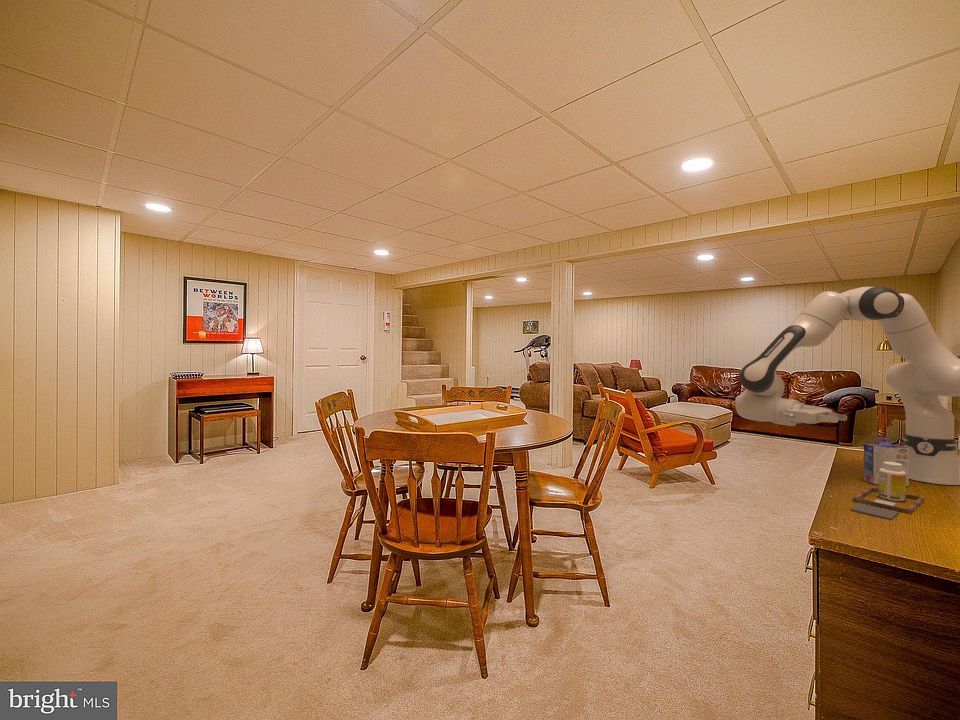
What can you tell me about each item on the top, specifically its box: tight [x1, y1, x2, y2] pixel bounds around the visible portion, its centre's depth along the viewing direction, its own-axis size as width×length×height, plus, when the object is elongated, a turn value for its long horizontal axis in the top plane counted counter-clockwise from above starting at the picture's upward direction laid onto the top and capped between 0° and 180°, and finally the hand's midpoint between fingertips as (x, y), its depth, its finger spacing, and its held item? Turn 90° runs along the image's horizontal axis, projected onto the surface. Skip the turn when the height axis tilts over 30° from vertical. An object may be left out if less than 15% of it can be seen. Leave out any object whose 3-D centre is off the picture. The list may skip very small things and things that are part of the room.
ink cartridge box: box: [863, 436, 910, 487], centre depth 138 cm, size 10×6×14 cm, turn 78°
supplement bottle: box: [878, 462, 907, 502], centre depth 124 cm, size 6×6×10 cm
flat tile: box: [873, 498, 897, 506], centre depth 119 cm, size 4×4×1 cm
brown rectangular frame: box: [852, 486, 925, 515], centre depth 122 cm, size 18×12×1 cm, turn 126°
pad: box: [849, 502, 900, 521], centre depth 113 cm, size 8×8×1 cm
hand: (842, 419), depth 132 cm, fingers open, 8 cm apart
